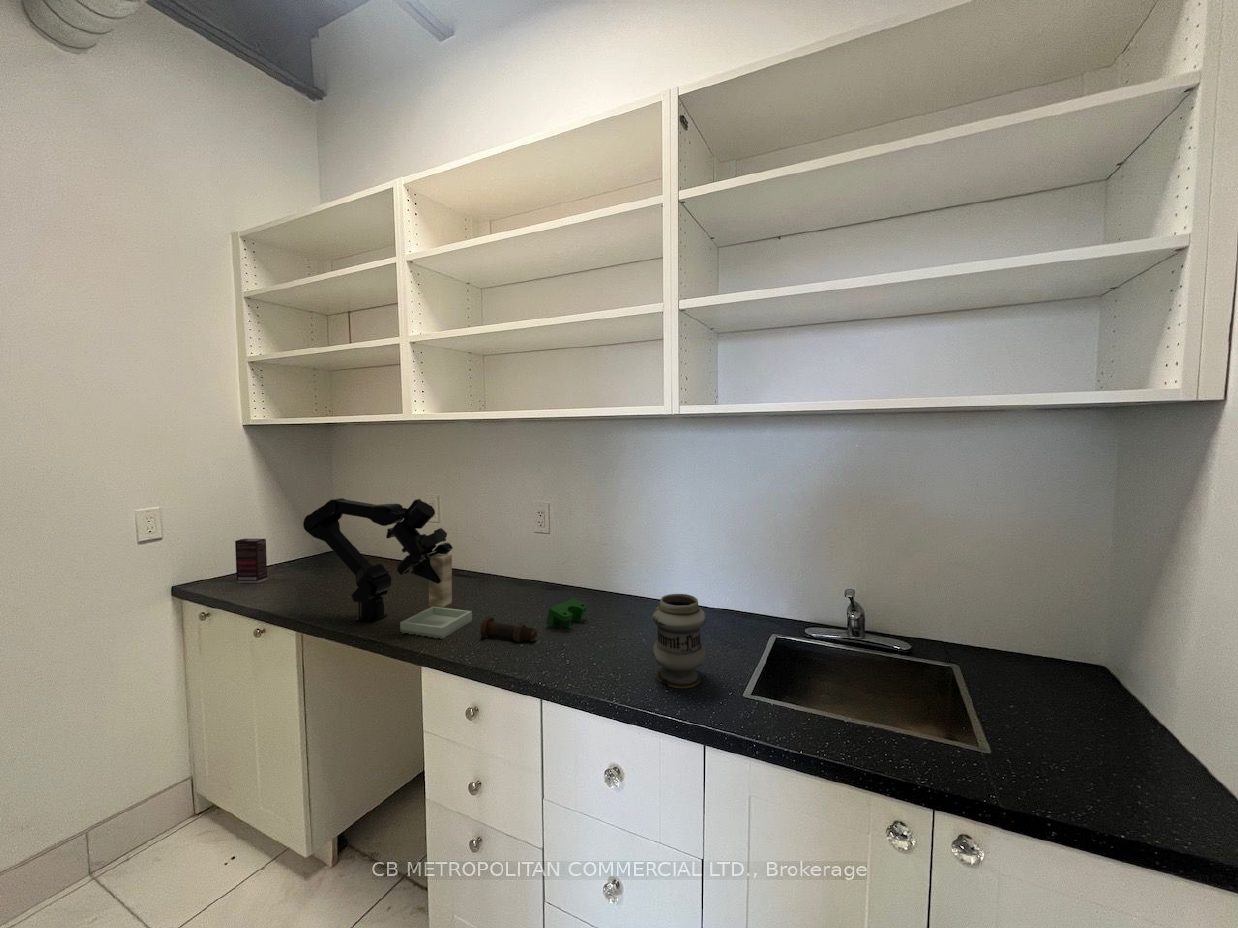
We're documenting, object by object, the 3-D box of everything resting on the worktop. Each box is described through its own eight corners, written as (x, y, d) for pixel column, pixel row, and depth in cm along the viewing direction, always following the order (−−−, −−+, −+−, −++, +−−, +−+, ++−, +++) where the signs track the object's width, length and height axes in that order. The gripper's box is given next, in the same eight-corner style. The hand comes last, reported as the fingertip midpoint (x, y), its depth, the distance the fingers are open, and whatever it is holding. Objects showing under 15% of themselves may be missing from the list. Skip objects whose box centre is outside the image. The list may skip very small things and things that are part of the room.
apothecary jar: (641, 678, 109) (641, 599, 109) (671, 660, 118) (672, 587, 118) (686, 697, 101) (687, 612, 101) (715, 676, 111) (717, 597, 110)
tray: (400, 632, 135) (400, 622, 135) (432, 616, 148) (432, 606, 148) (442, 639, 131) (442, 627, 130) (471, 621, 144) (471, 611, 143)
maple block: (428, 606, 138) (428, 557, 137) (438, 601, 142) (438, 553, 142) (442, 607, 137) (442, 558, 136) (451, 602, 141) (451, 554, 140)
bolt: (533, 650, 129) (483, 641, 133) (541, 634, 133) (492, 626, 137) (529, 635, 126) (477, 627, 130) (536, 620, 130) (486, 612, 134)
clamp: (563, 644, 138) (561, 621, 134) (548, 634, 141) (545, 612, 137) (590, 617, 147) (588, 595, 142) (574, 608, 150) (572, 586, 145)
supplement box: (268, 579, 185) (266, 538, 185) (258, 583, 180) (256, 540, 180) (246, 579, 186) (244, 538, 185) (235, 583, 181) (234, 540, 180)
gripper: (406, 526, 130) (442, 570, 128) (447, 516, 148) (479, 554, 146) (381, 553, 133) (416, 597, 130) (424, 539, 151) (456, 578, 149)
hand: (444, 580), depth 139 cm, fingers closed on maple block, 4 cm apart
